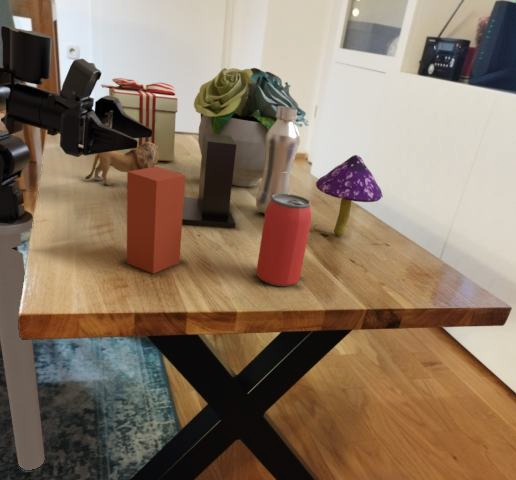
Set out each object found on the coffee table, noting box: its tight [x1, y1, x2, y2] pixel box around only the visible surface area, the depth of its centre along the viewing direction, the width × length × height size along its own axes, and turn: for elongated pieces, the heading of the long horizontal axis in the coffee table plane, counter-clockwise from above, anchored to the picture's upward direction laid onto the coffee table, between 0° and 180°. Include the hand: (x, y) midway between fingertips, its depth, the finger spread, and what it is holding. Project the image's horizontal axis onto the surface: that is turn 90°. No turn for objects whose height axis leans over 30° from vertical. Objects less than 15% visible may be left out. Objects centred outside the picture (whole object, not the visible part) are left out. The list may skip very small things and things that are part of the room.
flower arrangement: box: [193, 67, 310, 188], centre depth 115 cm, size 25×25×24 cm
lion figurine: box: [84, 142, 159, 186], centre depth 104 cm, size 15×5×9 cm, turn 103°
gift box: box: [100, 77, 179, 162], centre depth 129 cm, size 17×18×17 cm
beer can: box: [255, 193, 312, 287], centre depth 73 cm, size 7×7×12 cm
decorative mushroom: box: [315, 154, 384, 237], centre depth 94 cm, size 12×12×15 cm
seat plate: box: [182, 133, 237, 229], centre depth 93 cm, size 18×14×14 cm
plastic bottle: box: [255, 106, 301, 215], centre depth 98 cm, size 6×7×20 cm
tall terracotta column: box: [126, 165, 186, 275], centre depth 71 cm, size 5×6×13 cm
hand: (145, 138), depth 81 cm, fingers open, 9 cm apart
